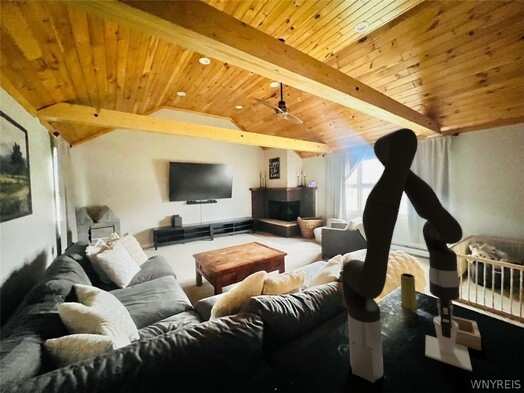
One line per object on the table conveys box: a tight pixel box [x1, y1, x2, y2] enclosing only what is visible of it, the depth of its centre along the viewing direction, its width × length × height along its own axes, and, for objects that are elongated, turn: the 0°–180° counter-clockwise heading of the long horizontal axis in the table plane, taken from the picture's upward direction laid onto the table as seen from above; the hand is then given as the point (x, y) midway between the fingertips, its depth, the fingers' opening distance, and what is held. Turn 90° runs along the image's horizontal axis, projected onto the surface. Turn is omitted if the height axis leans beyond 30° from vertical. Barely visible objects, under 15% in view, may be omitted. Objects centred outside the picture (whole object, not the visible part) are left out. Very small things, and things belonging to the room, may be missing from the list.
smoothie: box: [433, 315, 459, 355], centre depth 72 cm, size 6×6×14 cm
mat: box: [424, 334, 473, 372], centre depth 72 cm, size 11×11×1 cm
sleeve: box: [452, 315, 482, 351], centre depth 79 cm, size 10×10×4 cm
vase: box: [400, 272, 418, 311], centre depth 100 cm, size 6×6×14 cm
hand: (445, 329), depth 72 cm, fingers open, 8 cm apart
